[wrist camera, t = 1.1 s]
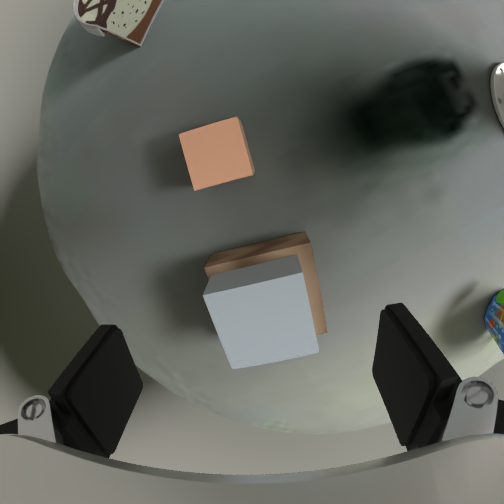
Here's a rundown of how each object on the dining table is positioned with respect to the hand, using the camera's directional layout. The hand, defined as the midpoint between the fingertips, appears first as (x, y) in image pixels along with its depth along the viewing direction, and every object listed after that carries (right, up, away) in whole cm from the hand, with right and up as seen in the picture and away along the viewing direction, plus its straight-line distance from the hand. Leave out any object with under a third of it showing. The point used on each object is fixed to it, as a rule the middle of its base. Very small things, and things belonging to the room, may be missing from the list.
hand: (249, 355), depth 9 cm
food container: (-14, +33, +14) cm, 39 cm away
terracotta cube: (-3, +14, +20) cm, 25 cm away
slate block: (+1, -2, +21) cm, 21 cm away
